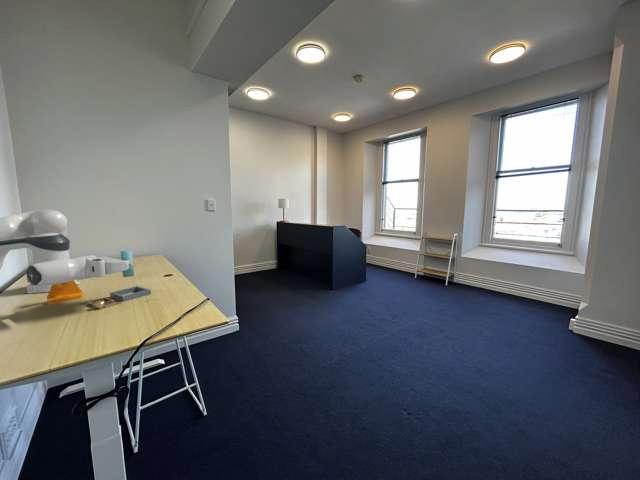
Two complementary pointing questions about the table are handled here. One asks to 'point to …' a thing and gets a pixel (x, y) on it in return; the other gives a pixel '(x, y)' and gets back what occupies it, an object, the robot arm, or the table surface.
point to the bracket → (64, 292)
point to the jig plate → (107, 301)
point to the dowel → (129, 272)
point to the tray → (120, 294)
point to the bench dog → (99, 305)
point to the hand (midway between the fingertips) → (129, 260)
